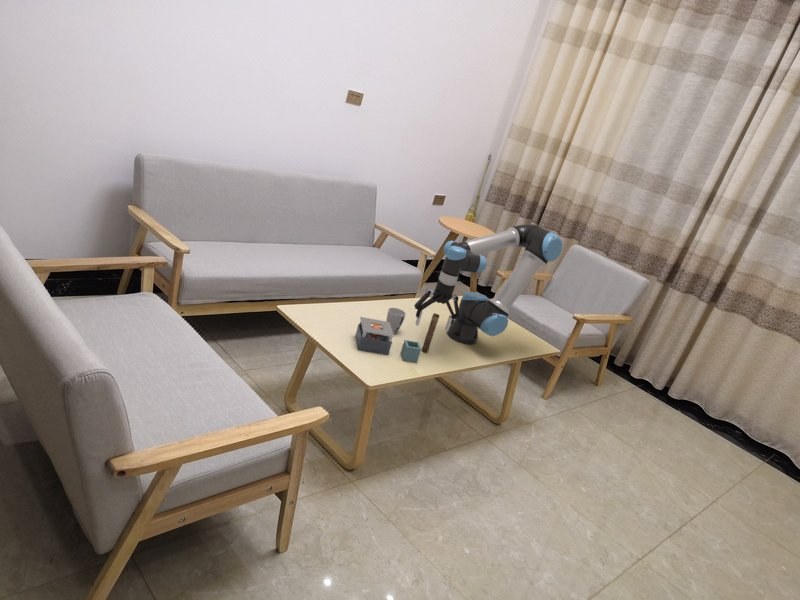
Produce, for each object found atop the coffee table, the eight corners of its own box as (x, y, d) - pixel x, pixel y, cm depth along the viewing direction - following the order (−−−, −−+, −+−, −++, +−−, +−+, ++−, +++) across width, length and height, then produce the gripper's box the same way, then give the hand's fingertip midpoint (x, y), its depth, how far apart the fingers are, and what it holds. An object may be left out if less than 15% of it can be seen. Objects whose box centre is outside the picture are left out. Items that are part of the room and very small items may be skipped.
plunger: (378, 333, 229) (380, 325, 228) (379, 337, 226) (381, 329, 225) (369, 332, 228) (372, 323, 227) (370, 336, 225) (373, 327, 224)
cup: (398, 337, 244) (404, 317, 240) (381, 331, 245) (386, 311, 241) (401, 330, 251) (407, 311, 248) (385, 325, 252) (390, 306, 249)
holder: (414, 355, 231) (418, 342, 228) (416, 362, 225) (421, 349, 223) (400, 353, 229) (404, 339, 227) (402, 360, 224) (407, 346, 221)
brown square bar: (426, 350, 239) (438, 314, 233) (428, 353, 237) (440, 316, 230) (420, 349, 239) (432, 312, 232) (422, 352, 236) (433, 315, 230)
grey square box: (384, 340, 236) (389, 322, 233) (388, 355, 225) (394, 335, 221) (355, 335, 233) (360, 316, 230) (357, 350, 221) (363, 330, 218)
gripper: (471, 285, 233) (456, 328, 240) (417, 273, 226) (402, 318, 234) (476, 291, 226) (460, 336, 233) (420, 279, 220) (405, 325, 227)
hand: (431, 327), depth 233 cm, fingers open, 13 cm apart
